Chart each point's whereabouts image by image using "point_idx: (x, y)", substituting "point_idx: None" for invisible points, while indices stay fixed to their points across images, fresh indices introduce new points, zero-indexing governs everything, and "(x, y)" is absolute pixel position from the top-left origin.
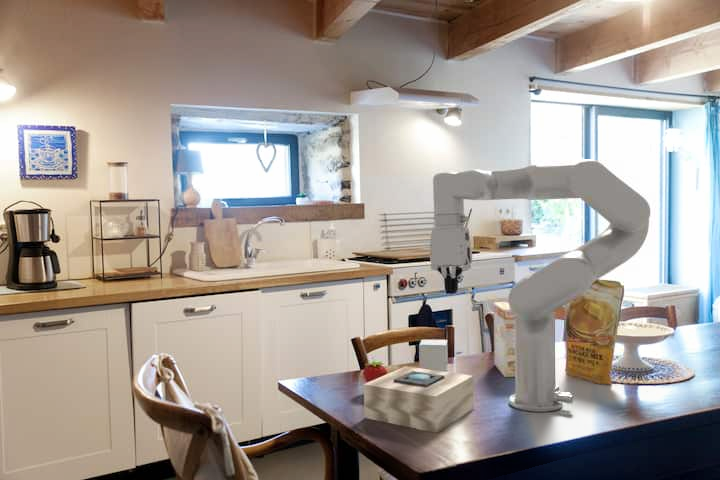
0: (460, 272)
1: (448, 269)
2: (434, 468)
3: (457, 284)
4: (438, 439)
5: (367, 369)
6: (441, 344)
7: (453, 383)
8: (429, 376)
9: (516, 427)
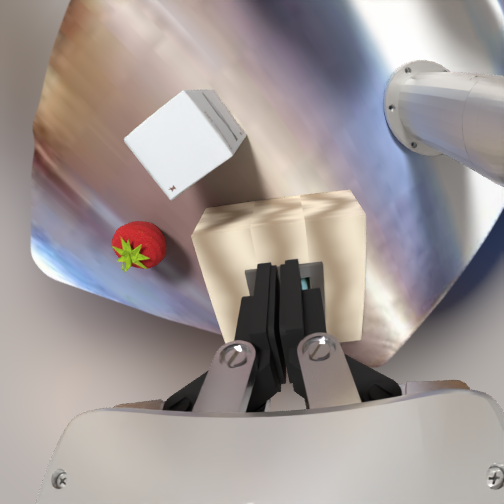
0: (367, 380)
1: (237, 403)
2: (388, 359)
3: (323, 310)
4: (363, 315)
5: (134, 266)
6: (217, 158)
7: (355, 279)
8: (303, 288)
9: (435, 228)
